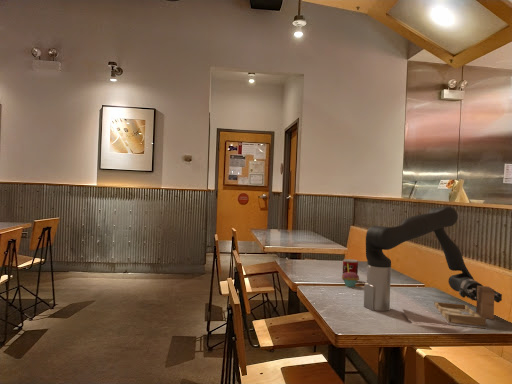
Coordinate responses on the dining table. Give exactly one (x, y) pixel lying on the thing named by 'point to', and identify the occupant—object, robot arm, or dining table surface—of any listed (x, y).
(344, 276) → the cupcake
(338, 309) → the dining table surface
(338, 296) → the dining table surface
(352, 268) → the canned food
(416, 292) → the dining table surface
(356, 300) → the dining table surface
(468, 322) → the tray
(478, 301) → the walnut block
